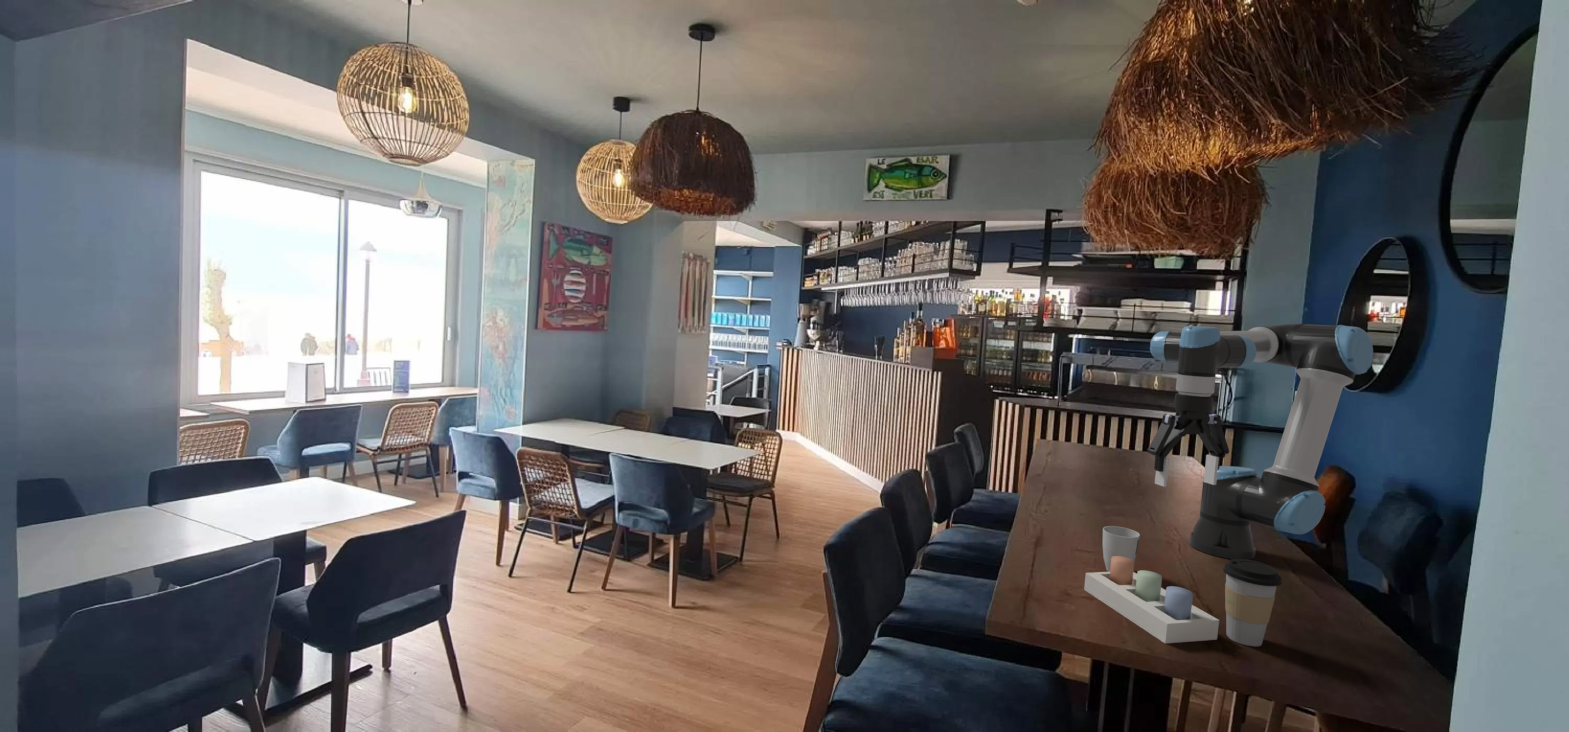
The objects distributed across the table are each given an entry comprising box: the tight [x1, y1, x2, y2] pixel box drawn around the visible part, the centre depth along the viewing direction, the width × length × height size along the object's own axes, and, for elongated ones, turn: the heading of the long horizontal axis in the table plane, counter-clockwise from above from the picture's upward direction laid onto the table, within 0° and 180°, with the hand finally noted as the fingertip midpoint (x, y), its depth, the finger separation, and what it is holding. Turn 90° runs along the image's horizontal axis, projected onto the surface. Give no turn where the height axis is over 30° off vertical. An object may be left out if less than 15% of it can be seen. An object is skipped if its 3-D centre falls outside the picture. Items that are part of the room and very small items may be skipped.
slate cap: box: [1164, 585, 1194, 620], centre depth 132 cm, size 5×5×5 cm
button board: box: [1083, 571, 1220, 644], centre depth 140 cm, size 12×24×4 cm, turn 12°
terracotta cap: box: [1109, 556, 1135, 585], centre depth 148 cm, size 5×5×5 cm
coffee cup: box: [1222, 559, 1283, 647], centre depth 130 cm, size 9×9×15 cm
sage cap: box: [1135, 569, 1163, 602], centre depth 140 cm, size 5×5×5 cm
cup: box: [1102, 525, 1141, 572], centre depth 163 cm, size 8×8×10 cm
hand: (1185, 484), depth 153 cm, fingers open, 13 cm apart
